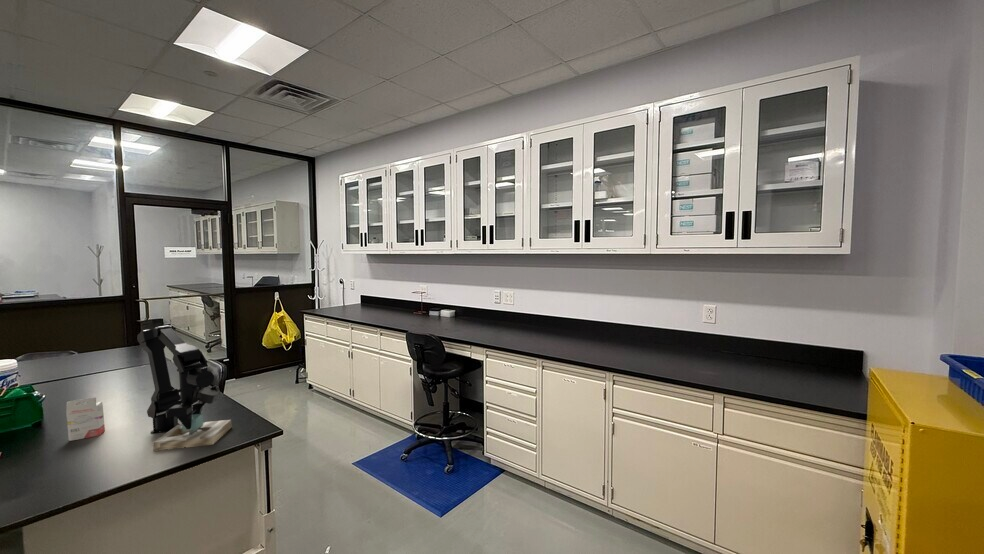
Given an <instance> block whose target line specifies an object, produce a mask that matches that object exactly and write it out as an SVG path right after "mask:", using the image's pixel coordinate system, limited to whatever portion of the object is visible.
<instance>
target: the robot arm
mask: <svg viewBox="0 0 984 554" xmlns="http://www.w3.org/2000/svg"><path fill="white" fill-rule="evenodd" d="M136 337H137V338H136V339H137V342H138V343H139V346H140V348H141V349H142V350H143V351H145V353H147V356H148V361H149V366H150V371H151V376H152V381H153V387H154V391H153V393H152V395H151V397H150V401H151V402H150V405H149V407H148V408H147V410H146V414H147V417H148V418H151V419H152V428H153V429H152V430H151V431H150V434H157V433H167V432H168V431H170V430H171V429H173V428H174V427H175V426H177V425H180V423H181V424H183V425H184V426H185V428H186V429H190V428H191V421H192V415H193V414H202V411H203V408H204V406H206V405H207V404H209V405H211V404H213V403H214V402H216V401H217V400H218V397H219V396H220V394H221V391H220V387H219V385H213V386H212V387H211V388H209V386H211V385H212V384H213V383H214V381H215V375H214V374H213V372H211V371H209V370H208V365H209V364H208V360H207V359H206V357H205V356H204V354H203V352H202V351H201V350H200V349H199V348H198V347H197V346H196V345H192V344H188V343H186V341H185V340H184V339H182V338H181V336H180V335H179V334H178V333H177V332H176V331H174V328H173V326H172V325H168V324H166V325H160V326H156V327H153V328H149V329H142V330H141V331H139V333H138V334H137V336H136ZM165 348H167V349H168V350H169V351H170V352H171V354H172V355H173V356H172V361H173V363H174V365H175V367H176V368H177V369H176V372H178V380H179V388H175V387H173V386H172V382H171V378H170V372H169V367H168V363H167V358H166V353H165ZM179 392H180V395H179ZM181 403H182V405H181ZM179 421H180V423H179Z"/></svg>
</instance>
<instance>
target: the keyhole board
mask: <svg viewBox="0 0 984 554" xmlns="http://www.w3.org/2000/svg"><path fill="white" fill-rule="evenodd" d="M230 429H232V419H224V420H223V419H222V420H213V421H205V422H204V421H203V425H202V426H200V427H199V428H198V429H197V430H204V431H199V432H194V433H193V434H192V435H185V436H183V435H184V434H185V433H187V432H189V430H186V431H182V423H181V424H180V423H179V425H177V426H175V427H174V428H173V429H171V430H170V431H168V432H164V433H163V435H161V436H160V437H159V438H157V439H155V440H154V441H153V442H152V444H153V445H152V446H153V451H154V450H158V451H164V450H163V449H168V450H173V448H177V449H185V448H184V447H186V448H194V447H202V446H204V447H205V446H213V445H214V444H215V443H217V442H218V440H219V439H221V438H222V437H223V436H224V435H225V434H227V432H229V430H230Z"/></svg>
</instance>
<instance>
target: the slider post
mask: <svg viewBox="0 0 984 554" xmlns="http://www.w3.org/2000/svg"><path fill="white" fill-rule="evenodd" d="M203 422H204V415H203V413H201V414H193V415H192V421H191V428H190V429H186V428H185V426H184V425H183V424H182V423H181V424H182V431H186V430H189V432H187V433H185V434H184V435H183V436H185V435H192V434H193V433H194V432H199V431H204V430H197V429H198V428H199V427H200V426H202V425H203Z"/></svg>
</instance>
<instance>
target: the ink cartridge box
mask: <svg viewBox="0 0 984 554" xmlns="http://www.w3.org/2000/svg"><path fill="white" fill-rule="evenodd" d="M81 402H82V403H81ZM103 405H104V404H103V401H97V398H96V397H90V398H82V399H75V400H69V401H66V410H65V413H66V414H65V415H66V423H67V424H66V425H67V435H68V441H69V442H70V441H75V440H82V439H86V438H87V439H88V438H89V439H90V438H93V437H98V436H101V435H102V434H103V433H104V432H105V431H106V428H105V416H104V406H103Z"/></svg>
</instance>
